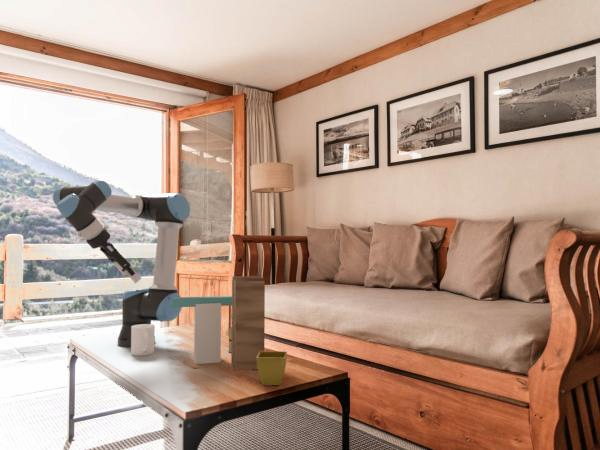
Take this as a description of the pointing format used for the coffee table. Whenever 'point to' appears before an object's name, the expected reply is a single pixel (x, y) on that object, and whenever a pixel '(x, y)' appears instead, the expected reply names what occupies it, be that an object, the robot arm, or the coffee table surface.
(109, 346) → the coffee table surface
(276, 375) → the flower pot
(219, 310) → the tall white pillar
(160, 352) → the coffee table surface
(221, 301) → the block
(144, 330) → the mug
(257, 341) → the stand
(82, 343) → the coffee table surface
